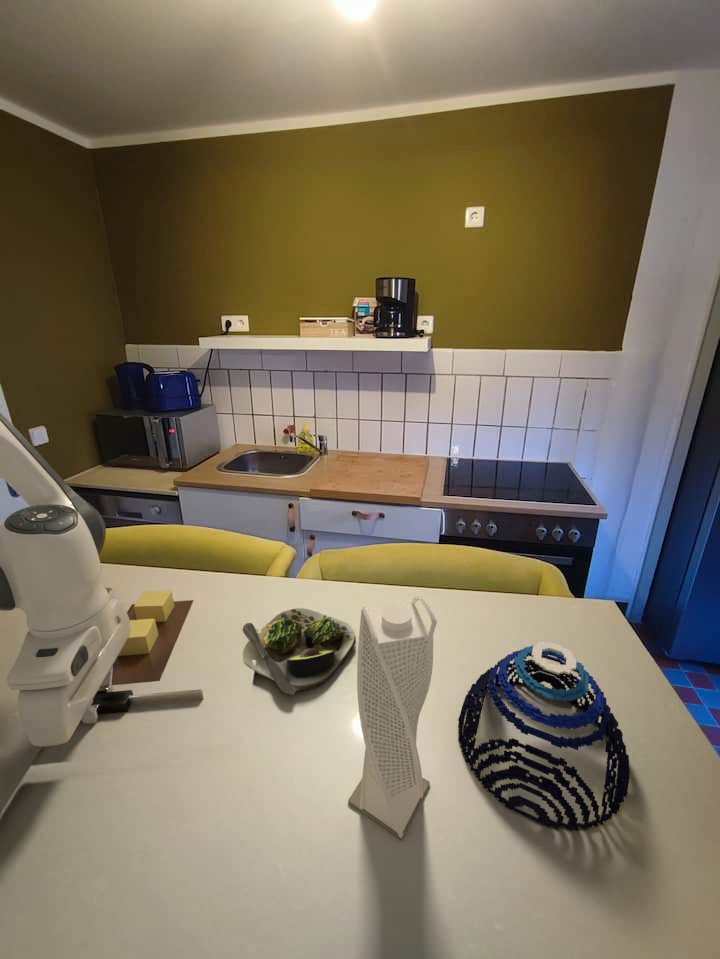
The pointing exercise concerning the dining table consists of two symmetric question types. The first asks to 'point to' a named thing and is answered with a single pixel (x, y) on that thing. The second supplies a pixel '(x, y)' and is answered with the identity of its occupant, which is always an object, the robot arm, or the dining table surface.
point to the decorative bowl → (545, 735)
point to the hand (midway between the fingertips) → (99, 707)
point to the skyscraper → (392, 711)
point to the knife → (140, 699)
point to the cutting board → (156, 661)
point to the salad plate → (299, 648)
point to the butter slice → (154, 605)
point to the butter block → (140, 637)
